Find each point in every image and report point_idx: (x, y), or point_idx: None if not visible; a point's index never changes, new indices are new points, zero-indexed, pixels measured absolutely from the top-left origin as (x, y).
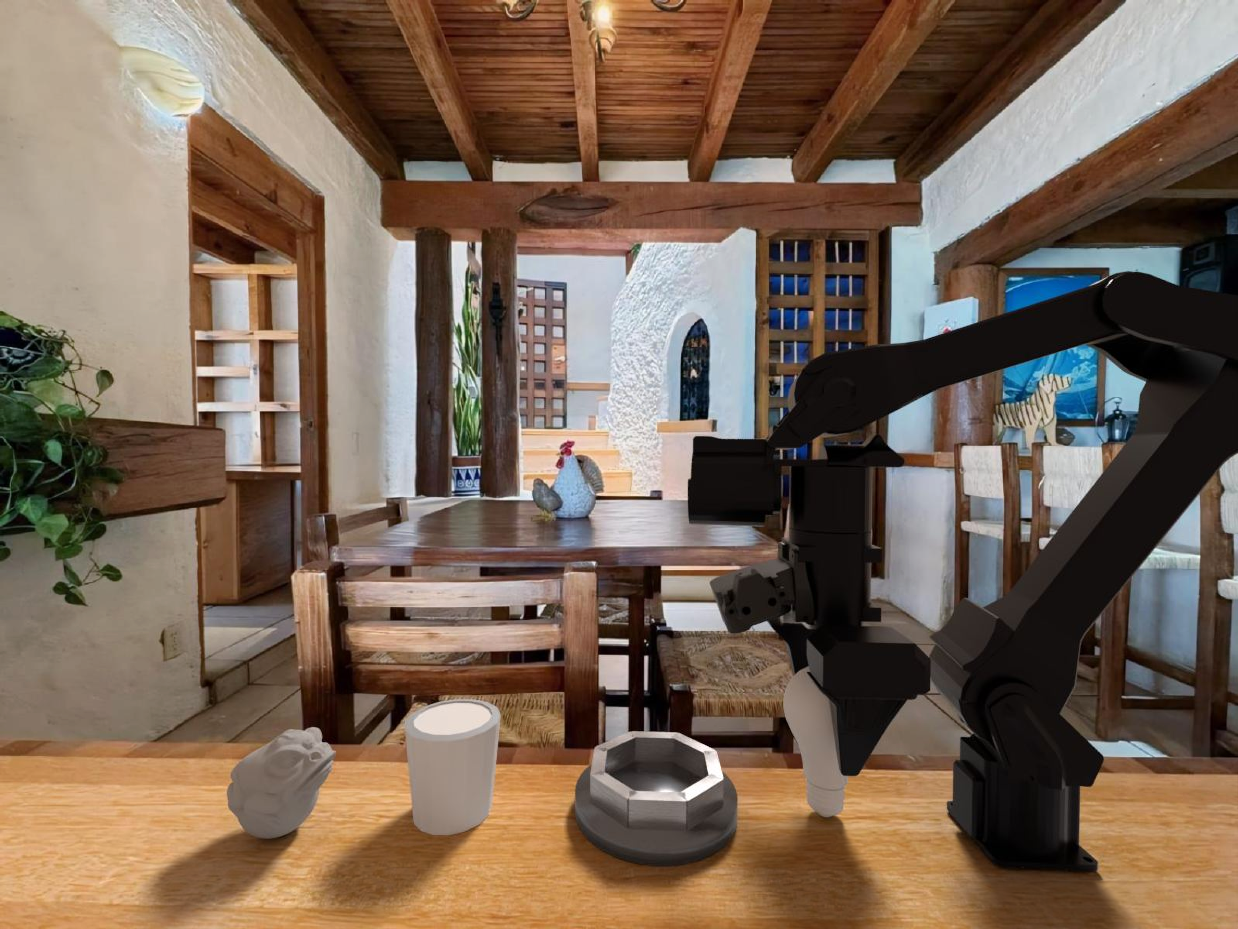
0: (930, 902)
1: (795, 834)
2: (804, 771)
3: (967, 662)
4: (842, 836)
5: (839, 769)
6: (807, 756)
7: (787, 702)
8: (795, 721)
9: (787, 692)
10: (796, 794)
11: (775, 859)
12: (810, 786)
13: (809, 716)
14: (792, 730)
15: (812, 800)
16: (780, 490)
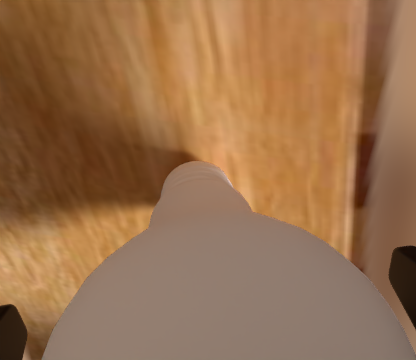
0: (15, 284)
1: (120, 120)
2: (190, 185)
3: None
4: (137, 201)
5: (3, 308)
6: (160, 219)
7: (176, 285)
8: (110, 267)
9: (225, 322)
10: (259, 139)
11: (24, 69)
12: (180, 183)
13: (49, 356)
14: (170, 220)
15: (176, 174)
16: None
